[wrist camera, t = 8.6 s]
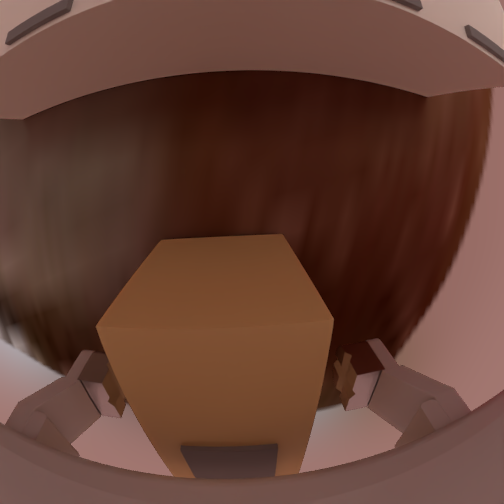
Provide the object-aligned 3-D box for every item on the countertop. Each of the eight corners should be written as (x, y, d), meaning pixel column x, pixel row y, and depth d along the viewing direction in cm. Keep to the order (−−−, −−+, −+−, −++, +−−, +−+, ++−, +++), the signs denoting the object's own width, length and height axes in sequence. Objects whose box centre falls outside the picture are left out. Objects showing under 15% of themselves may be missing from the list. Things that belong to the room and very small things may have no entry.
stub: (193, 400, 11) (184, 494, 6) (161, 239, 9) (91, 331, 4) (277, 397, 12) (294, 490, 7) (282, 233, 9) (337, 324, 4)
